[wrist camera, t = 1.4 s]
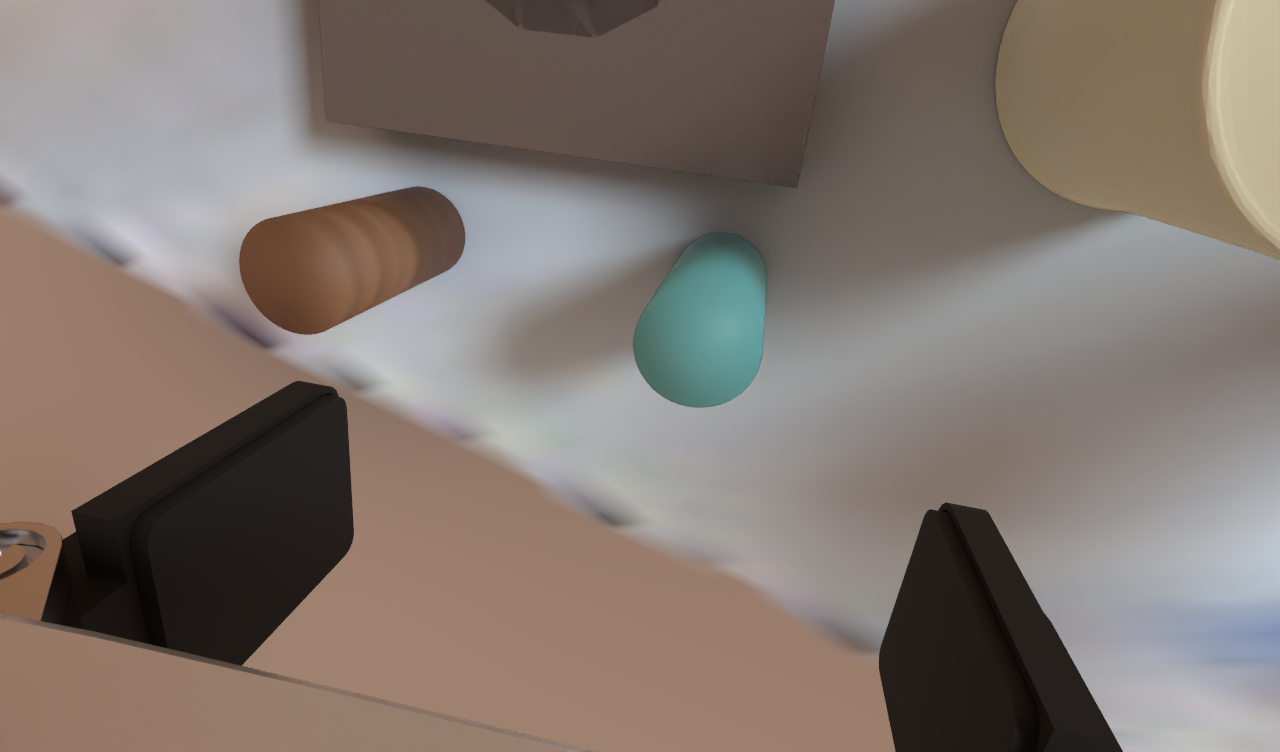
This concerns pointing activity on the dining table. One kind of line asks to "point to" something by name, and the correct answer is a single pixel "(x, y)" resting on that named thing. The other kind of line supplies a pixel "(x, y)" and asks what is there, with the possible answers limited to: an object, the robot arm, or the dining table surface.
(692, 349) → the teal peg
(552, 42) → the socket plate
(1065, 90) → the can
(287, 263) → the walnut peg
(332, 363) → the dining table surface
